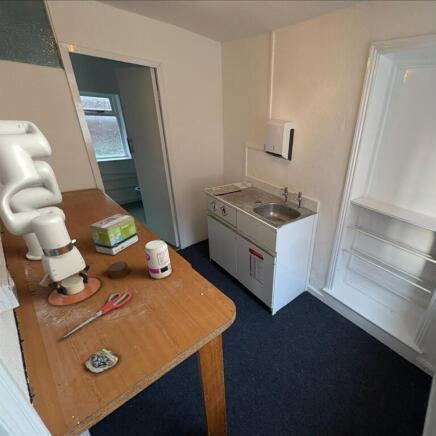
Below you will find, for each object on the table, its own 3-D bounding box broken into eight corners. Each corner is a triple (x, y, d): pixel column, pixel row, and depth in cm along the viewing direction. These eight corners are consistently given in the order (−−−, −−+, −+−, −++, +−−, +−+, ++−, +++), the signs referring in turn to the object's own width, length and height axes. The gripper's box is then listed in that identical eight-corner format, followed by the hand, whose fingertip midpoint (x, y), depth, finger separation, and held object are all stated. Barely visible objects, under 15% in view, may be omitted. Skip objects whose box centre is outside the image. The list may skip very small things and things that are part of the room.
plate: (39, 297, 85) (38, 296, 85) (85, 274, 98) (85, 273, 98) (64, 311, 80) (63, 310, 80) (109, 285, 93) (109, 284, 93)
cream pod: (59, 292, 87) (56, 283, 86) (79, 281, 93) (76, 273, 91) (70, 297, 85) (66, 289, 84) (89, 287, 91) (86, 278, 89)
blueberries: (100, 348, 70) (98, 343, 69) (125, 351, 69) (123, 347, 68) (79, 370, 63) (77, 366, 63) (107, 374, 63) (105, 370, 62)
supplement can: (150, 281, 97) (143, 251, 90) (150, 270, 103) (144, 241, 97) (172, 276, 100) (166, 247, 94) (171, 266, 107) (166, 237, 101)
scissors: (60, 339, 71) (58, 335, 71) (117, 292, 90) (116, 289, 90) (81, 344, 70) (80, 340, 70) (135, 295, 89) (134, 292, 89)
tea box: (114, 255, 111) (106, 228, 105) (96, 252, 112) (87, 225, 106) (139, 240, 124) (133, 215, 118) (123, 237, 126) (116, 212, 120)
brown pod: (106, 275, 98) (103, 268, 96) (122, 267, 104) (119, 259, 102) (117, 280, 96) (114, 272, 94) (132, 271, 102) (130, 264, 100)
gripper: (80, 235, 90) (93, 272, 97) (18, 258, 75) (39, 299, 82) (92, 240, 87) (105, 277, 95) (31, 264, 73) (51, 307, 80)
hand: (74, 287), depth 89 cm, fingers closed on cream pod, 6 cm apart
